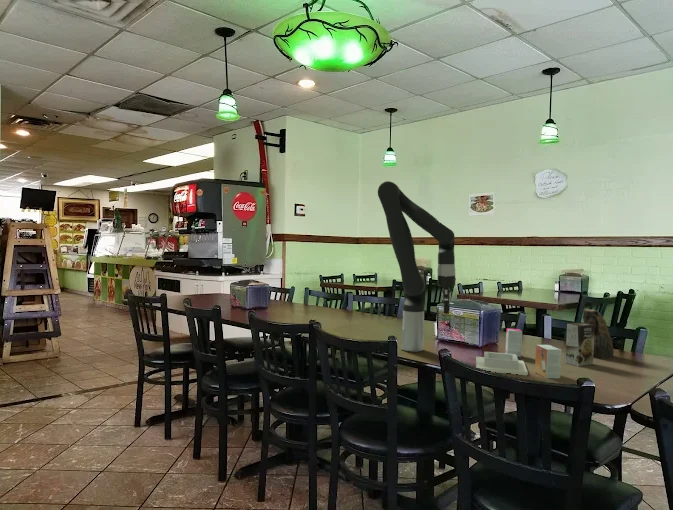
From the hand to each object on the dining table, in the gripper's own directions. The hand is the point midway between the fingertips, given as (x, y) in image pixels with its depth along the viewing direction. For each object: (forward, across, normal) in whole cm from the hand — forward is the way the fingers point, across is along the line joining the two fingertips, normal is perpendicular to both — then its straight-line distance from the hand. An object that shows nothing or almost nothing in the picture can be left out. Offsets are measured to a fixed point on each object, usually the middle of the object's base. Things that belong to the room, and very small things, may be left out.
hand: (446, 312), depth 209 cm
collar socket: (+18, +18, +20) cm, 33 cm away
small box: (+19, +24, +36) cm, 48 cm away
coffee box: (+20, +1, +52) cm, 56 cm away
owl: (+20, -18, +64) cm, 69 cm away
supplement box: (+19, -3, +27) cm, 33 cm away
